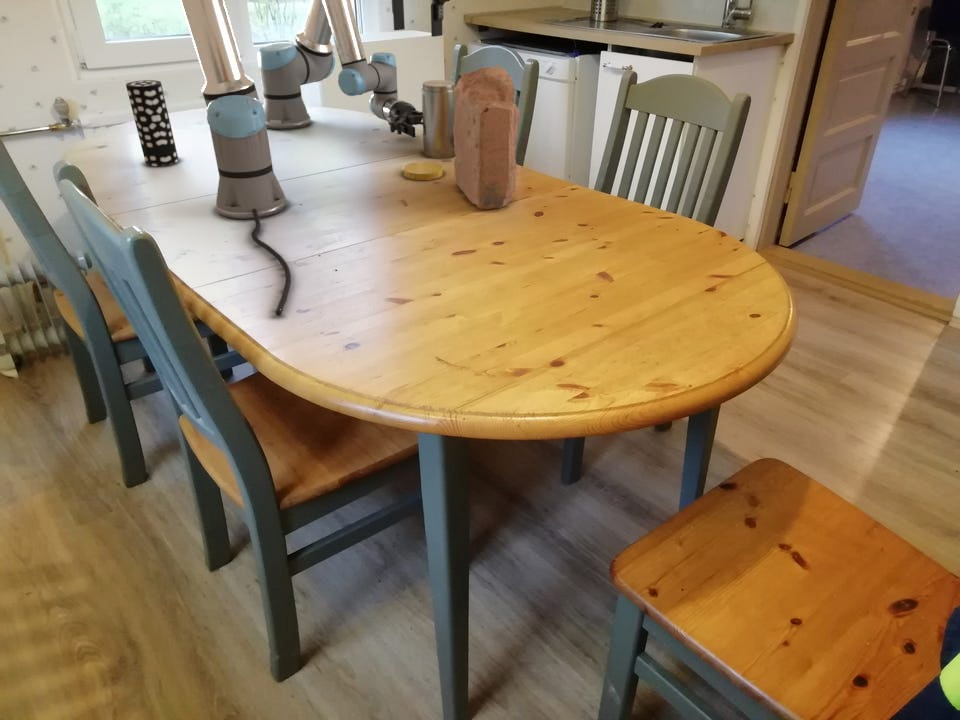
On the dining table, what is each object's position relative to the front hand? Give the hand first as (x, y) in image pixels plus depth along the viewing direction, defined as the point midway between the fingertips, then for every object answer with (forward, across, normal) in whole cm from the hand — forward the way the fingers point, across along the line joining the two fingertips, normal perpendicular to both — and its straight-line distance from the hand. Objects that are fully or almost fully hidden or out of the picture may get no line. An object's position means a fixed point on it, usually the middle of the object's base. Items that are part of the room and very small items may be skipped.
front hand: (417, 32), depth 162 cm
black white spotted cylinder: (+24, +56, +45) cm, 75 cm away
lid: (+32, 0, 0) cm, 32 cm away
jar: (+34, +11, -16) cm, 39 cm away
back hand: (+27, +13, -16) cm, 35 cm away
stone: (+34, -23, 0) cm, 41 cm away
